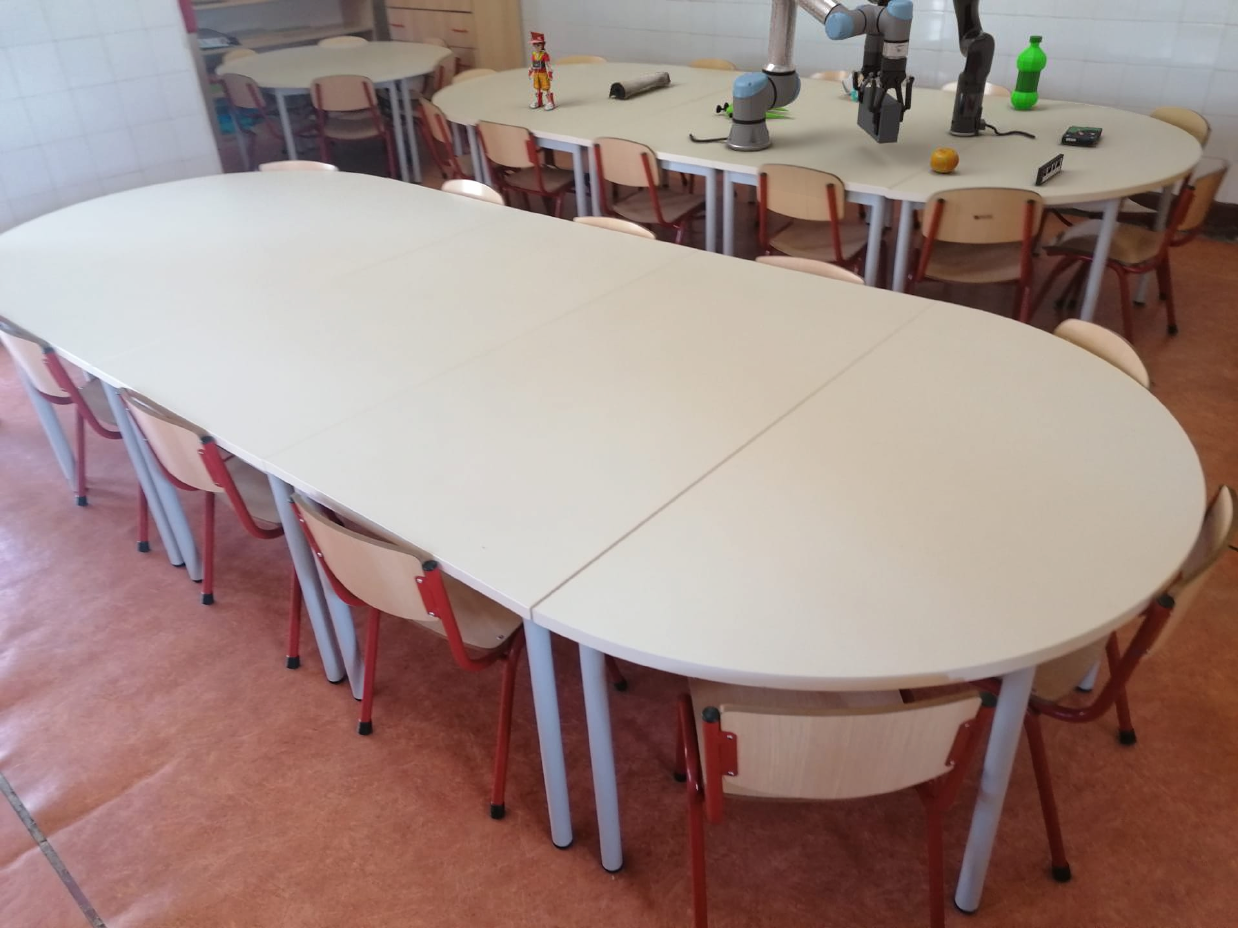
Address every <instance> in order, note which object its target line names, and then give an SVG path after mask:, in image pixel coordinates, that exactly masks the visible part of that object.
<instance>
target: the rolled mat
mask: <svg viewBox="0 0 1238 928" xmlns="http://www.w3.org/2000/svg"><path fill="white" fill-rule="evenodd" d="M671 83H672V81H671V77H670V74H669V72H668V71H658V72H654V73H649V74H645V75H640V76H637V77H633V78H628V79H623V80H620V81H616V82H613V83H612V84H611V85H610V89H609V95H608V97H609V98H611V97H616V99H620V100H622V101H623V100H626V99H627V98H629V97H630V96H632V95H635V94H636V93H638V92H640V91H643V90H644V89H647V88H650V87H655V86H658V87H659V86H661V87H665V86H669V85H670V84H671Z"/></svg>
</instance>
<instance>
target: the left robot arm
mask: <svg viewBox="0 0 1238 928" xmlns="http://www.w3.org/2000/svg"><path fill="white" fill-rule="evenodd" d="M798 6H799V7H801V8H802V9H803V10H804V11H805V12H806V13H808V14H809V15H811V17H813V18H814V19H815V20H816V21H818V22H819V23H820V24H822V25H823V26H824V32H825V33H826V36H827V38H829V40H832V41H843V40H848V39H851V38H854V37H858V36H862V35H866V34H867V33H880V34H885V36H884V46H883V56H884V57H883V58H882V64H881V72H880V74H879V77H876V78H871V79H870V83H869V84H870V87H871V88H870V94H869V100H868V106H867V110H868V111H869V112H872V113H873V114H872V123H873V124H874V132H873V133H874V134H875V135H878V131H879V122H880V113H878V112H879V109H880V107H881V104H882V102H883V99H884V97H885V94H886V93H888V91H889V90H891V89H894V91H895V95H896V100H897V101H899V102H900V103H902V107H901V115H900V124H899V128H900V126H901V123H903V121H904V116H905V113H906V111H908V110H911V108H912V98H913V97H912V95H913V94H912V93H913V84H914V82H915V79H916V78H915V76H914V75H911V74H907V72H906V70H907V65H908V64H907V63H908V57H907V56H908V55H909V46H910V36H911V29H912V23H913V18H914V15H913V14H914V3H913V1H912V0H892V1H890V2H889V3H888V7H884V6H877V5H876V4H872V3H870V4H869V3H868V4H859V5H857V6H856V7H855V8H854V9H849V8H847V7H846V6H845V5H844V4H842V3H841V2H839V0H772V1H771V10H770V11H771V12H770V13H771V14H770V22H769V24H770V25H769V36H768V49H767V58H766V59H767V60H766V61H765V63H764V64H763V65H762V67H761V71H753V72H747V73H743V74H741V75H739V76H737V77H736V78H735V79H734V82H733V89H732V103H733V117H732V124H731V127H730V130H729V133H728V136H727V137H718V138H709V139H708V138H707V139H697V138H694V135H693V134H692V133H689V137H690V140H691V141H692V142H695V143H710V142H711V143H712V142H721V141H722V142H723V141H726V147H727V148H729V150H734V151H739V152H756V151H761V150H765V149H768V148H769V147H770V146H771V137H770V130H769V129H768V126H767V118H766V111H767V112H769V111H772V110H771V109H775V108H779V107H781V108H784V107H786V106H788V105H790V104H792V103H793V102H795V101H796V100H797V99H798V97H799V95H800V92H801V88H802V81H801V78H800V75H799V73H798V72H797V71H796V70H797V67H796V65H795V64H794V62H793V57H794V47H795V38H796V37H795V36H796V25H797V17H798ZM879 81H880V82H881V83H882V86H881V88H880V92H879V95H878V97H877V100H876V102H875V105H874V101H875V95H876V90H877V86H879V84H878V82H879ZM904 81H905V95H904V96H903V88H902V84H903V82H904ZM899 134H900V131H899V132H898V135H899Z"/></svg>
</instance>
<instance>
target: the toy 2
mask: <svg viewBox="0 0 1238 928" xmlns="http://www.w3.org/2000/svg"><path fill="white" fill-rule="evenodd" d="M722 111H724V112H725V113H726V115H728V117H729V118H730V119H731V118H732V119H733V102H732V103H731V104H729V103H728V102H727V101H725V102H724V103H723V107H722V106H721V105H720V104H717V106H716V109H715V112H716V114H720V113H721V112H722ZM770 111H778V112H779V111H781V112H789V109H786V108H784V107H779V108H775V109H771V110H770ZM777 118H781V119H783V118H785V119H792V118H793V117H791V116H786V115H781V114H776V113H773V112H772V113H771V112H768V111H766V119H777Z"/></svg>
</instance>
